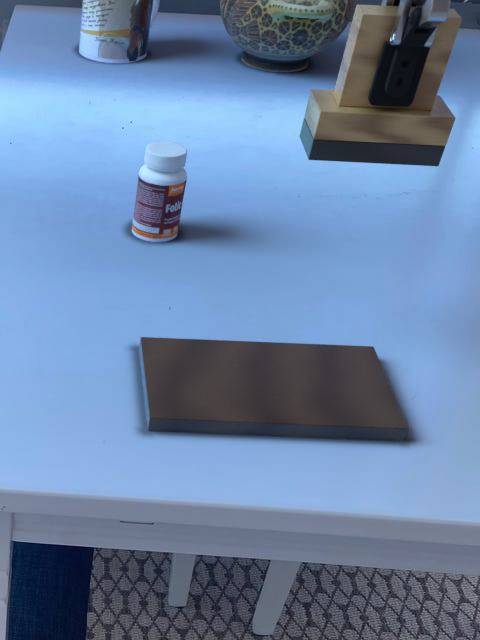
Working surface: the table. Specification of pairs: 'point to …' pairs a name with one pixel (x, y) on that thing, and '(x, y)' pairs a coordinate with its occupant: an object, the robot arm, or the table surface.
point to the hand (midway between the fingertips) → (385, 94)
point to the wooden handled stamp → (380, 121)
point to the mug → (116, 29)
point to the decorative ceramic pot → (284, 29)
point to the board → (268, 389)
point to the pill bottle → (160, 192)
